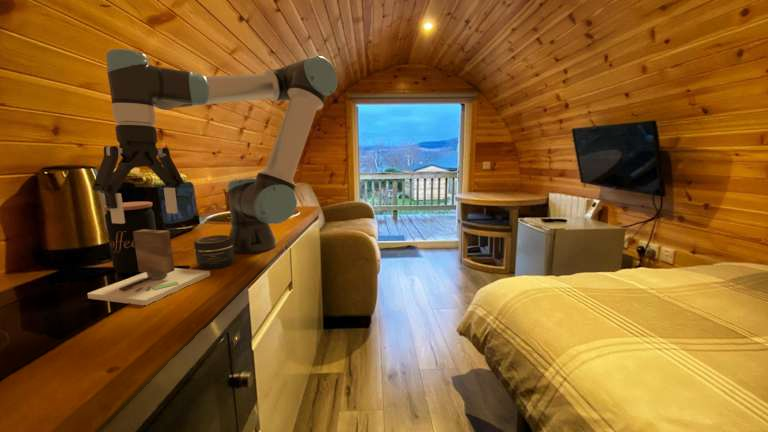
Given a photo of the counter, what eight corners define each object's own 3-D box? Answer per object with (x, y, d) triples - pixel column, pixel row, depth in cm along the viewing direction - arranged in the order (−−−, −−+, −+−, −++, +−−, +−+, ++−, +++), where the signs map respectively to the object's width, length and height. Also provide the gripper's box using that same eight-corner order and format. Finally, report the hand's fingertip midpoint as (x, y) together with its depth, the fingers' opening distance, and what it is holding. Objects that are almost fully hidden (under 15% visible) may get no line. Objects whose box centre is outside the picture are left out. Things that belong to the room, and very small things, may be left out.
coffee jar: (104, 272, 90) (92, 206, 87) (142, 260, 100) (133, 200, 97) (133, 275, 87) (122, 207, 83) (169, 263, 97) (161, 202, 93)
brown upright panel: (152, 272, 84) (145, 228, 82) (177, 275, 82) (171, 230, 80) (107, 289, 74) (98, 239, 72) (135, 292, 72) (127, 241, 70)
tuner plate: (160, 270, 90) (160, 266, 90) (210, 275, 86) (209, 270, 86) (88, 298, 73) (87, 292, 73) (146, 305, 69) (145, 299, 69)
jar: (237, 266, 93) (234, 240, 92) (196, 273, 88) (193, 245, 87) (233, 257, 102) (231, 233, 100) (196, 262, 97) (193, 237, 96)
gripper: (169, 130, 88) (178, 209, 91) (58, 119, 64) (76, 227, 68) (193, 129, 86) (201, 210, 90) (87, 118, 62) (104, 229, 66)
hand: (147, 217), depth 79 cm, fingers open, 13 cm apart
